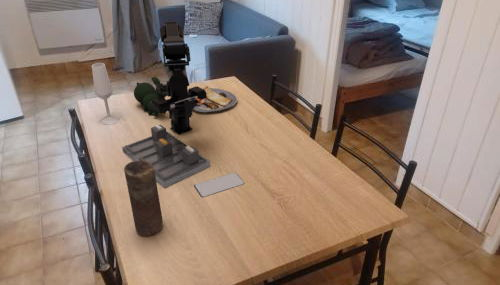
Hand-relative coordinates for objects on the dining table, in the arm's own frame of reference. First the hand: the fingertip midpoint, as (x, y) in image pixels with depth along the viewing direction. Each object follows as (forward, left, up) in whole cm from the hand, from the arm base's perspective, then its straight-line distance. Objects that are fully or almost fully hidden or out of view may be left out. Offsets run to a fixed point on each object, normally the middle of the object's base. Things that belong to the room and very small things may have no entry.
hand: (181, 121), depth 127 cm
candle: (+29, +26, -12) cm, 41 cm away
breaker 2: (+4, +10, -10) cm, 15 cm away
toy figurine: (-8, -37, -12) cm, 40 cm away
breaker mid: (+8, 0, -10) cm, 13 cm away
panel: (+8, 0, -12) cm, 14 cm away
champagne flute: (+10, -40, -12) cm, 43 cm away
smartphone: (+3, +24, -13) cm, 27 cm away
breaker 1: (+4, -10, -10) cm, 15 cm away
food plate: (-32, -27, -12) cm, 44 cm away
